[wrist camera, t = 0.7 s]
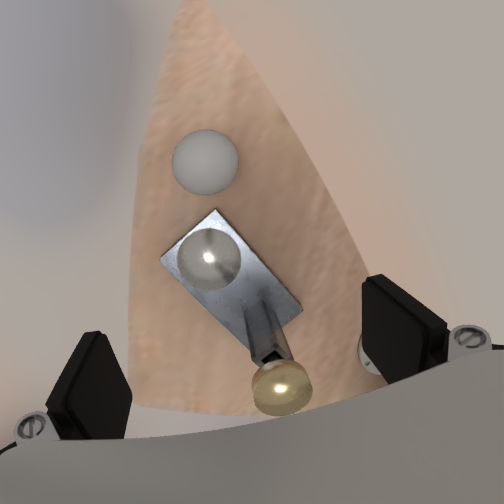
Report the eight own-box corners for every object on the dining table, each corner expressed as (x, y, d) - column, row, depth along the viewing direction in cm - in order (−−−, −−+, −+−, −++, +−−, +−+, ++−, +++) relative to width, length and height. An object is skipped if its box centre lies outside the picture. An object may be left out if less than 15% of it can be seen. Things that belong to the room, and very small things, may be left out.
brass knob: (305, 354, 31) (323, 393, 25) (267, 381, 32) (277, 423, 26) (276, 324, 30) (290, 362, 24) (236, 354, 30) (241, 396, 24)
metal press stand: (301, 305, 42) (328, 353, 30) (249, 345, 43) (260, 402, 31) (215, 208, 37) (214, 226, 26) (161, 256, 38) (138, 294, 27)
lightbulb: (217, 128, 35) (217, 112, 24) (243, 172, 37) (253, 174, 26) (172, 155, 35) (154, 150, 25) (198, 198, 37) (190, 211, 26)
